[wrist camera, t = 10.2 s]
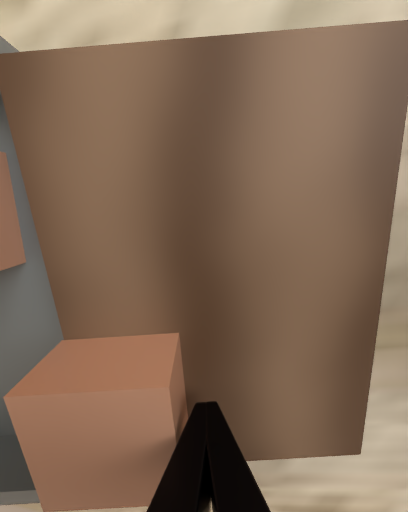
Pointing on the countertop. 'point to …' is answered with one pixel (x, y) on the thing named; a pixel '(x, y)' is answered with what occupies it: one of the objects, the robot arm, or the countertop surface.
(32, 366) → the tray
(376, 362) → the countertop surface
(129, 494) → the block
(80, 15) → the countertop surface
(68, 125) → the walnut board
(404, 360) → the countertop surface
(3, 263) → the tile
